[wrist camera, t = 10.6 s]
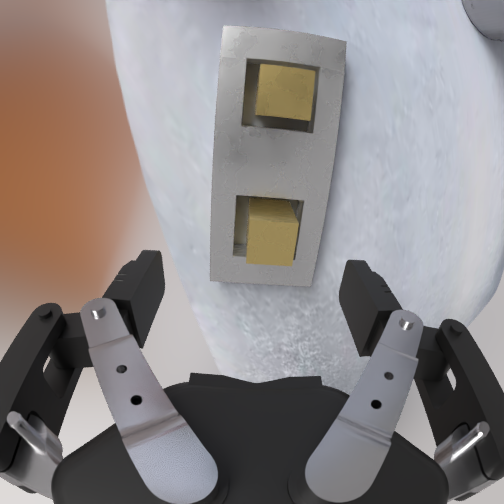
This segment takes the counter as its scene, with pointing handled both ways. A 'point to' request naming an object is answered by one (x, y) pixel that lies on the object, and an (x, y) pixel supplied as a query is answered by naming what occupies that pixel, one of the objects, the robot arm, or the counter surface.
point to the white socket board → (273, 150)
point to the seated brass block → (284, 92)
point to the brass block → (271, 232)
